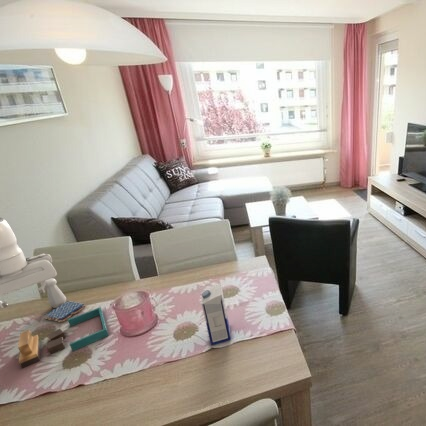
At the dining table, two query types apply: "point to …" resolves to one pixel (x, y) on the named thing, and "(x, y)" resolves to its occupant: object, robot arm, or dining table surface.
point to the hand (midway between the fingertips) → (24, 299)
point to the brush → (29, 348)
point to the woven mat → (64, 311)
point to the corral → (93, 336)
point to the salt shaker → (54, 293)
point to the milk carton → (215, 315)
